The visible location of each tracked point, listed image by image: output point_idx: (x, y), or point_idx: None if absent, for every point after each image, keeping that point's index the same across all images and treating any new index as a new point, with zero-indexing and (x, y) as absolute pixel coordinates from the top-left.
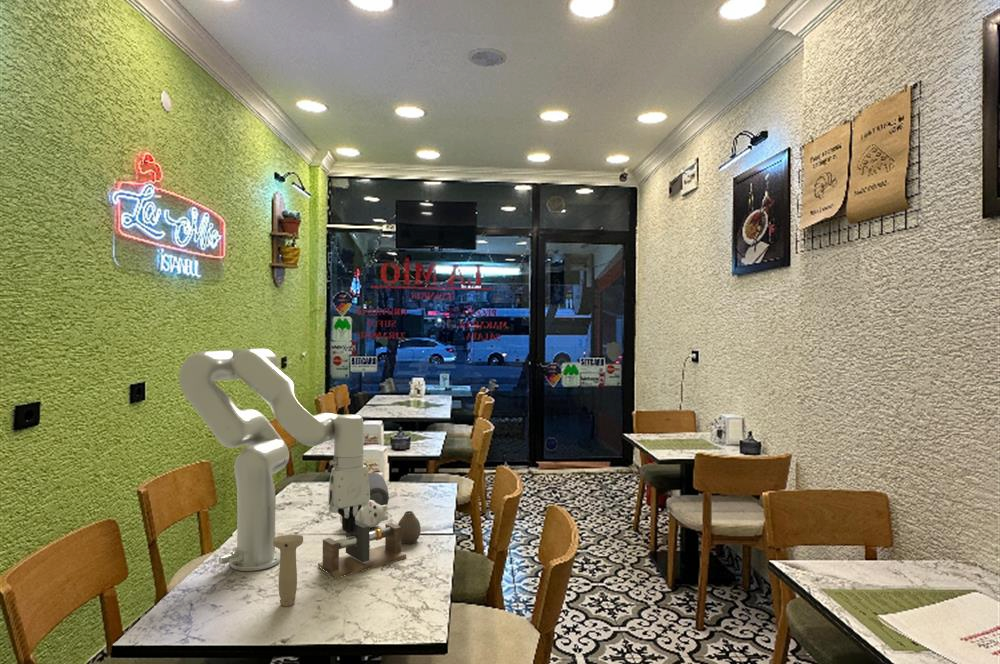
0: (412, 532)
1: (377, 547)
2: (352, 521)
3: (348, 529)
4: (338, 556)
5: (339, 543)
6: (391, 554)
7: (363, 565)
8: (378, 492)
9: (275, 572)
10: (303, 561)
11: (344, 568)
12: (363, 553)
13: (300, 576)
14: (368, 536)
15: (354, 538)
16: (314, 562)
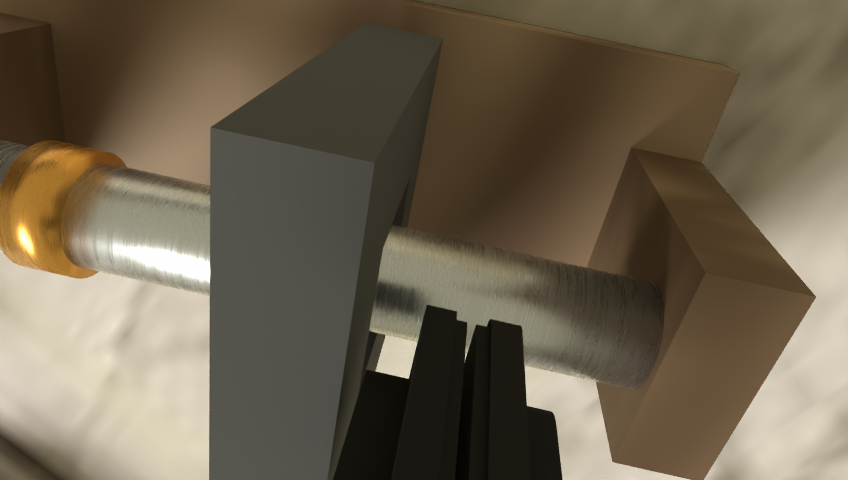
0: None
1: None
2: (440, 441)
3: (518, 366)
4: (665, 195)
5: (619, 303)
6: (88, 31)
7: None
8: None
9: (823, 476)
10: (586, 467)
11: (586, 124)
12: (423, 53)
13: (814, 320)
14: (302, 84)
15: (401, 271)
16: (559, 411)
